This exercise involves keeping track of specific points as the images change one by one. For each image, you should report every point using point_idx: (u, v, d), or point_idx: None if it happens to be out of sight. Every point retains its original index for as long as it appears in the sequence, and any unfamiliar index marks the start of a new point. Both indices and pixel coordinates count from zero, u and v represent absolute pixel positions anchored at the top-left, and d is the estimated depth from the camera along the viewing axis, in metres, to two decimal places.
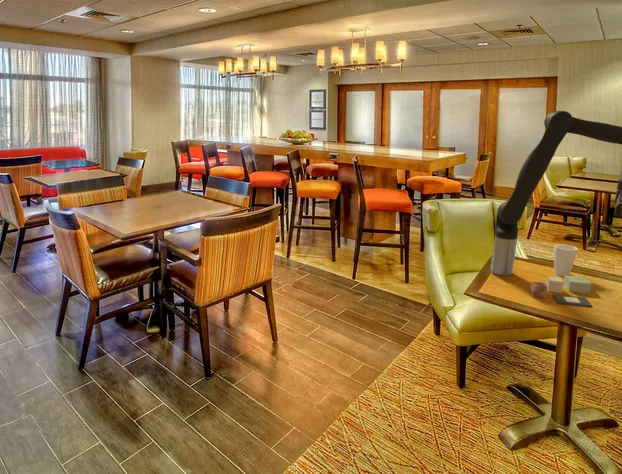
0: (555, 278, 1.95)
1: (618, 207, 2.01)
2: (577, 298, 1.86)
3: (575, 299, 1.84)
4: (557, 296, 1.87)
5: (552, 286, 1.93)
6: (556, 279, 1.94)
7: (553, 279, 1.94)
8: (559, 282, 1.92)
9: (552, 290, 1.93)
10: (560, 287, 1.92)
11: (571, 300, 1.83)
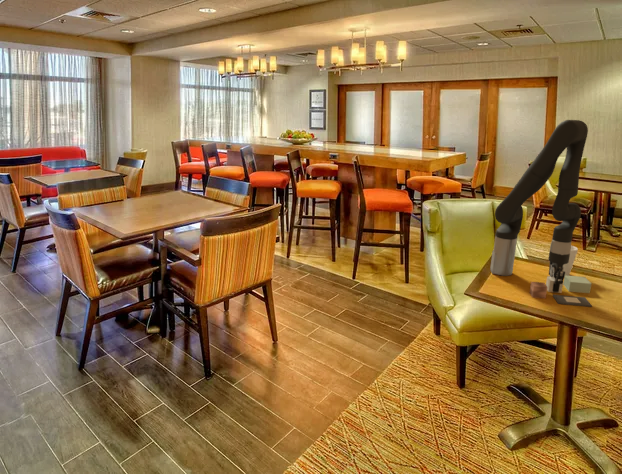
0: None
1: None
2: (577, 298, 1.86)
3: (575, 299, 1.84)
4: (557, 296, 1.87)
5: (552, 286, 1.93)
6: None
7: (553, 279, 1.94)
8: None
9: (552, 290, 1.93)
10: (560, 287, 1.92)
11: (571, 300, 1.83)
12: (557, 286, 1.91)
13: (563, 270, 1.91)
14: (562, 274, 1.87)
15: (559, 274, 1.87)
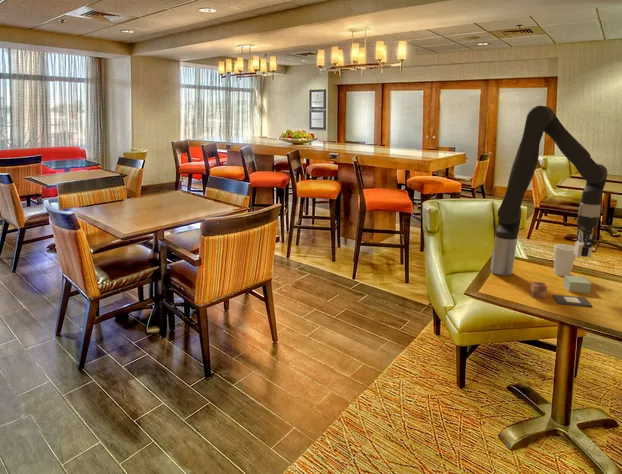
0: None
1: None
2: (577, 298, 1.86)
3: (575, 299, 1.84)
4: (557, 296, 1.87)
5: (581, 251, 1.90)
6: None
7: (582, 243, 1.91)
8: None
9: None
10: (589, 251, 1.89)
11: (571, 300, 1.83)
12: (586, 250, 1.88)
13: (592, 234, 1.87)
14: (591, 237, 1.84)
15: (588, 237, 1.84)
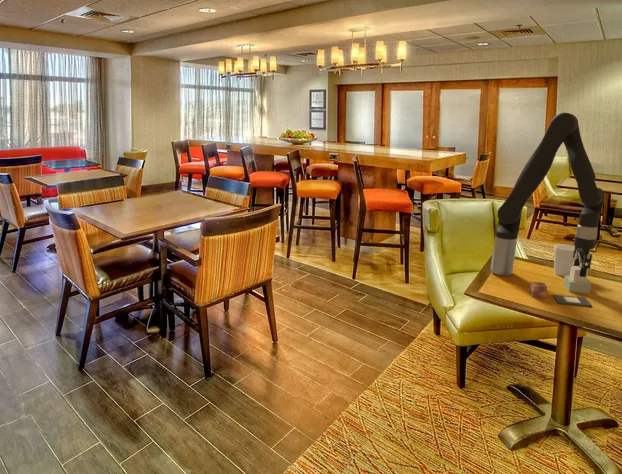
0: (579, 267, 1.96)
1: (576, 262, 1.98)
2: (577, 298, 1.86)
3: (575, 299, 1.84)
4: (557, 296, 1.87)
5: (577, 275, 1.94)
6: None
7: (578, 268, 1.94)
8: None
9: (577, 279, 1.94)
10: None
11: (571, 300, 1.83)
12: (584, 271, 1.90)
13: None
14: (589, 257, 1.86)
15: (586, 257, 1.86)
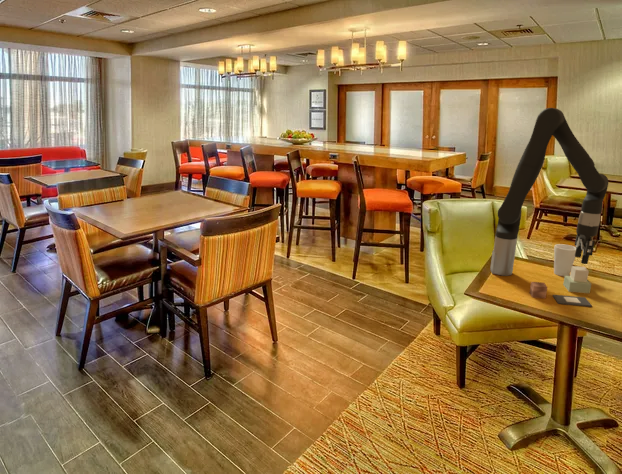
0: (580, 267, 1.96)
1: (578, 249, 1.96)
2: (577, 298, 1.86)
3: (575, 299, 1.84)
4: (557, 296, 1.87)
5: (577, 276, 1.93)
6: (581, 268, 1.95)
7: (578, 268, 1.94)
8: (584, 271, 1.92)
9: (577, 279, 1.94)
10: (585, 276, 1.93)
11: (571, 300, 1.83)
12: (586, 258, 1.88)
13: None
14: (591, 243, 1.84)
15: (588, 243, 1.85)
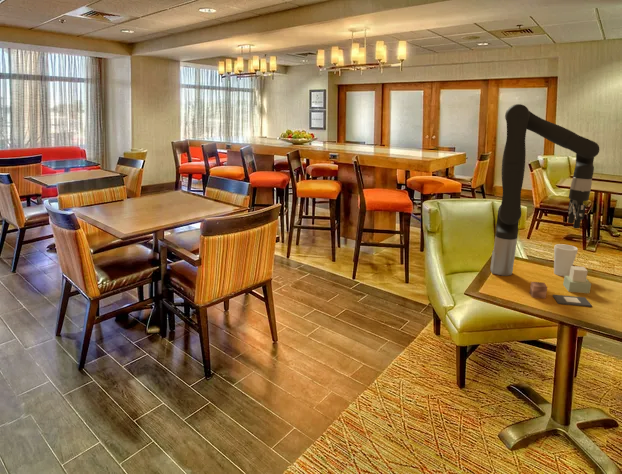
0: (579, 267, 1.96)
1: (571, 215, 2.03)
2: (577, 298, 1.86)
3: (575, 299, 1.84)
4: (557, 296, 1.87)
5: (576, 276, 1.93)
6: (580, 268, 1.94)
7: (577, 268, 1.94)
8: (583, 271, 1.92)
9: (576, 279, 1.94)
10: (584, 276, 1.92)
11: (571, 300, 1.83)
12: (578, 222, 1.94)
13: None
14: (583, 207, 1.91)
15: (580, 207, 1.91)
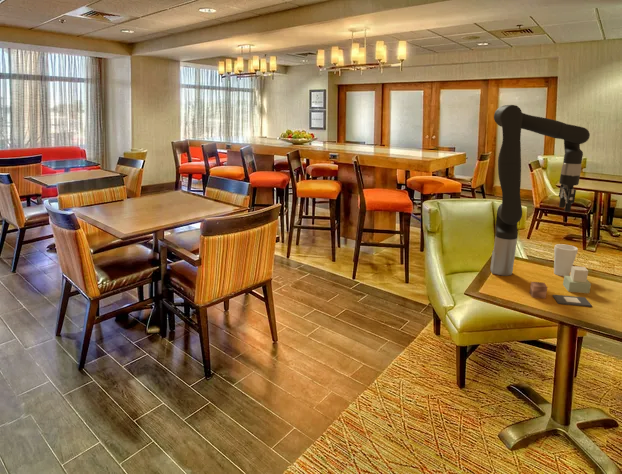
0: (579, 267, 1.96)
1: (562, 200, 2.10)
2: (577, 298, 1.86)
3: (575, 299, 1.84)
4: (557, 296, 1.87)
5: (577, 276, 1.93)
6: (581, 268, 1.94)
7: (578, 268, 1.94)
8: (584, 271, 1.92)
9: (577, 279, 1.94)
10: (585, 276, 1.92)
11: (571, 300, 1.83)
12: (569, 206, 2.02)
13: None
14: (573, 191, 1.98)
15: (570, 191, 1.99)
